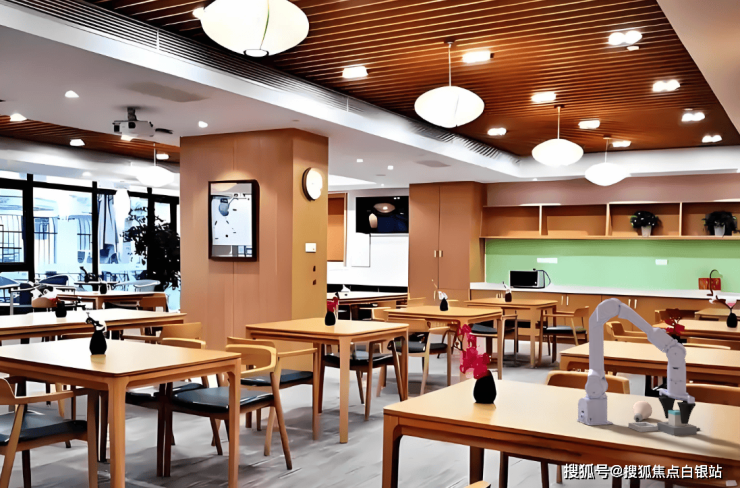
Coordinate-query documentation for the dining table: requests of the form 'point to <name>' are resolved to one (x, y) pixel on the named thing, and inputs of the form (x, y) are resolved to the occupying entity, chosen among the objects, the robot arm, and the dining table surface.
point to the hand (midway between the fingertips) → (676, 420)
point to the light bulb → (642, 410)
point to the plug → (674, 418)
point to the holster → (643, 426)
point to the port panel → (677, 429)
